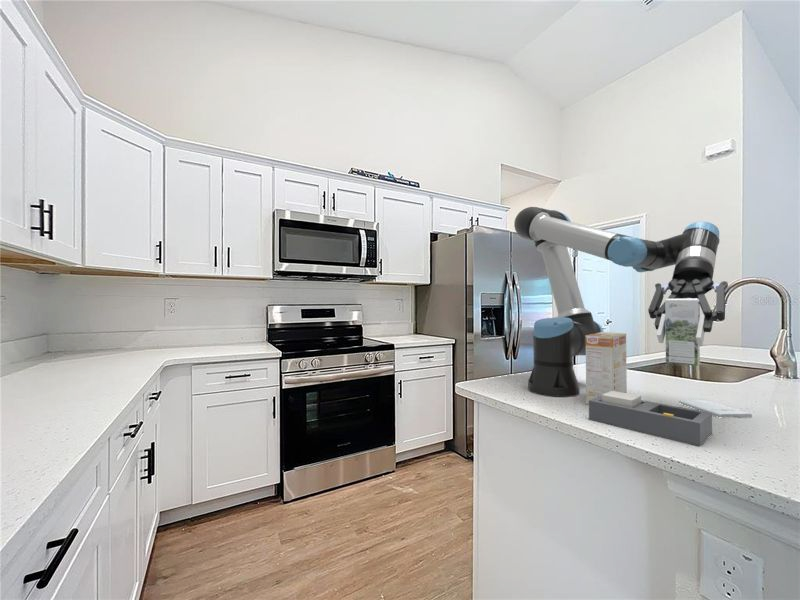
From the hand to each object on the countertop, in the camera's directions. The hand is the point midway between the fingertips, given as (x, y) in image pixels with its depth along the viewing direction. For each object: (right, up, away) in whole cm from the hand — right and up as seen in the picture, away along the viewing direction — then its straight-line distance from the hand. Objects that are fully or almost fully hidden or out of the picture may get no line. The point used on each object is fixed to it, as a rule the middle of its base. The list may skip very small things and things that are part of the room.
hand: (678, 340), depth 76 cm
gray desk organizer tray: (-4, -20, +5) cm, 21 cm away
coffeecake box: (-1, -21, +25) cm, 32 cm away
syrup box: (+3, -6, +2) cm, 7 cm away
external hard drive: (+22, -21, +17) cm, 35 cm away
